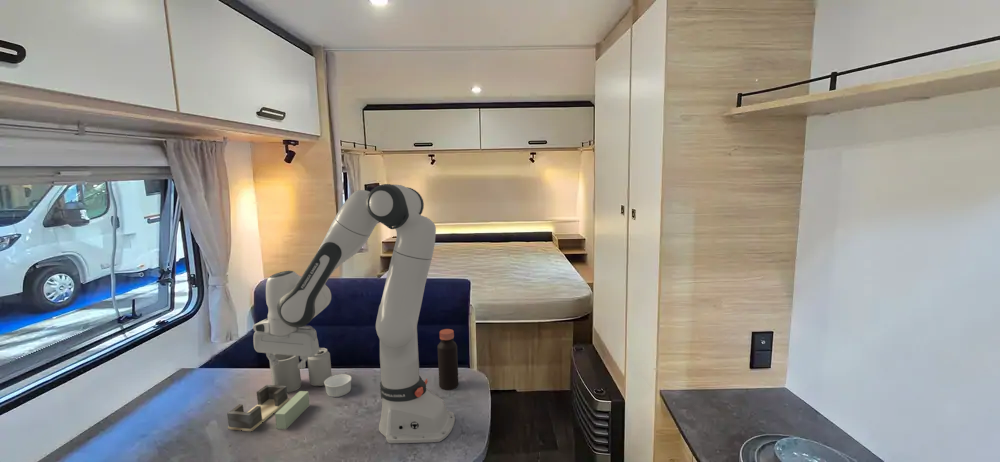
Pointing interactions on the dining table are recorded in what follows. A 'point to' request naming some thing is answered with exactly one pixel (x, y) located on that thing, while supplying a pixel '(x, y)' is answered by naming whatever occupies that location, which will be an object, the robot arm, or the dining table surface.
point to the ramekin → (338, 385)
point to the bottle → (447, 360)
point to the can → (319, 367)
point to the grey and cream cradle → (258, 408)
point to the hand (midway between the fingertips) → (288, 366)
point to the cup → (286, 372)
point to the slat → (292, 410)
